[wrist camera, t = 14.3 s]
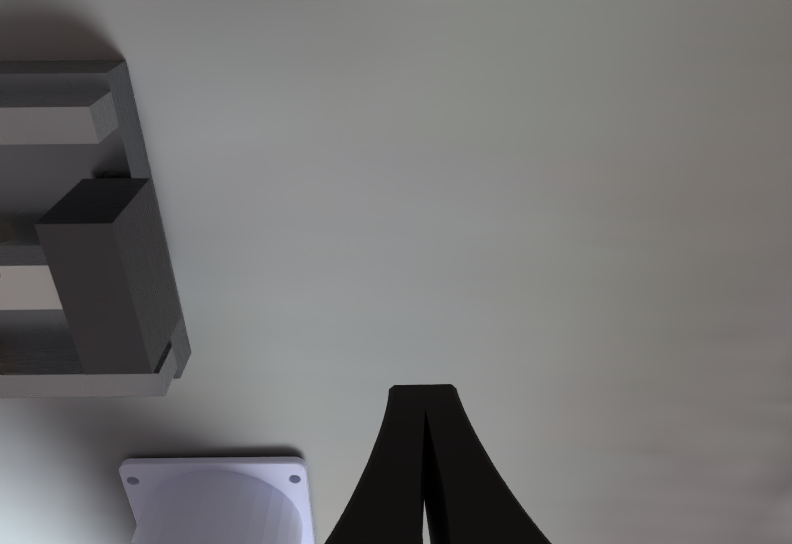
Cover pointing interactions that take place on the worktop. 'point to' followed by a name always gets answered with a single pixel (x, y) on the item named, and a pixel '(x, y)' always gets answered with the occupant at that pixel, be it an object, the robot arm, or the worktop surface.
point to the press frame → (46, 185)
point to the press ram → (100, 274)
